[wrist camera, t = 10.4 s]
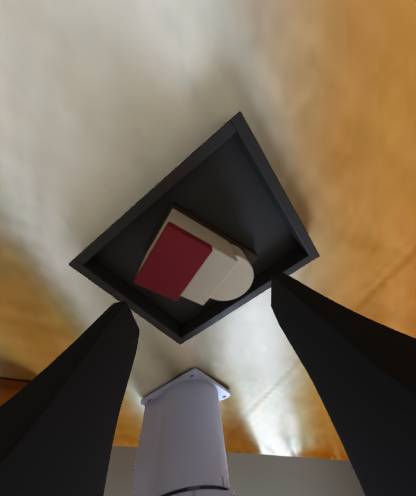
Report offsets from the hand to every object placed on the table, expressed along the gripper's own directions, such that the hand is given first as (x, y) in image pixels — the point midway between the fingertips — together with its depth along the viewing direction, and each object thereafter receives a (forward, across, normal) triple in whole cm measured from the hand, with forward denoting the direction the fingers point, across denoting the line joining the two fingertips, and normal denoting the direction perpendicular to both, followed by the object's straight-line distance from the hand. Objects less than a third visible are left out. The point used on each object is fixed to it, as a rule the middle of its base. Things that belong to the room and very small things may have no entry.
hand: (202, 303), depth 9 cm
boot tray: (+7, 0, 0) cm, 7 cm away
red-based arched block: (+7, 0, 0) cm, 7 cm away
